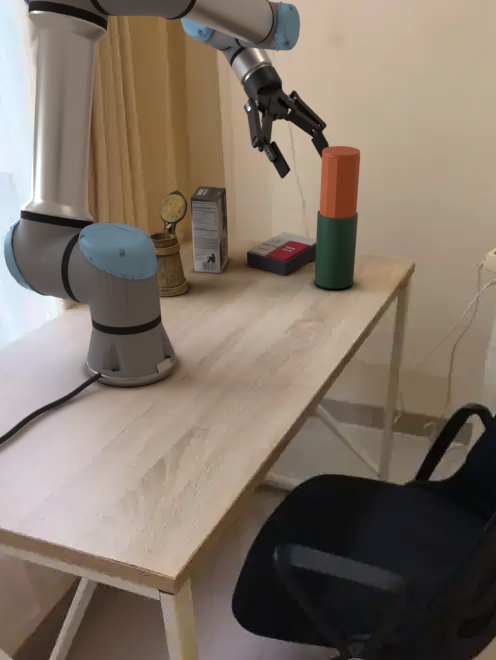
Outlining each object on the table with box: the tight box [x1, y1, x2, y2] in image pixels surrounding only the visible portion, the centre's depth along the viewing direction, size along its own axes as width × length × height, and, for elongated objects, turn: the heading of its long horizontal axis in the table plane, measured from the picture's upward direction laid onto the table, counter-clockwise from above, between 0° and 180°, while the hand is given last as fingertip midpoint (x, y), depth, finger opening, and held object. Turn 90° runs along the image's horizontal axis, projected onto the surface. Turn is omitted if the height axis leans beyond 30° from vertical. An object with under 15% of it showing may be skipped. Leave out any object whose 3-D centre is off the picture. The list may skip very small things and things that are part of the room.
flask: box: [313, 209, 359, 292], centre depth 158 cm, size 9×9×18 cm
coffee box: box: [189, 185, 230, 274], centre depth 166 cm, size 9×6×16 cm
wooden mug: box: [148, 189, 189, 297], centre depth 156 cm, size 9×14×18 cm, turn 163°
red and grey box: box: [246, 231, 316, 276], centre depth 173 cm, size 11×4×15 cm
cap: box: [319, 145, 361, 219], centre depth 150 cm, size 7×7×12 cm
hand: (309, 168), depth 154 cm, fingers open, 13 cm apart
